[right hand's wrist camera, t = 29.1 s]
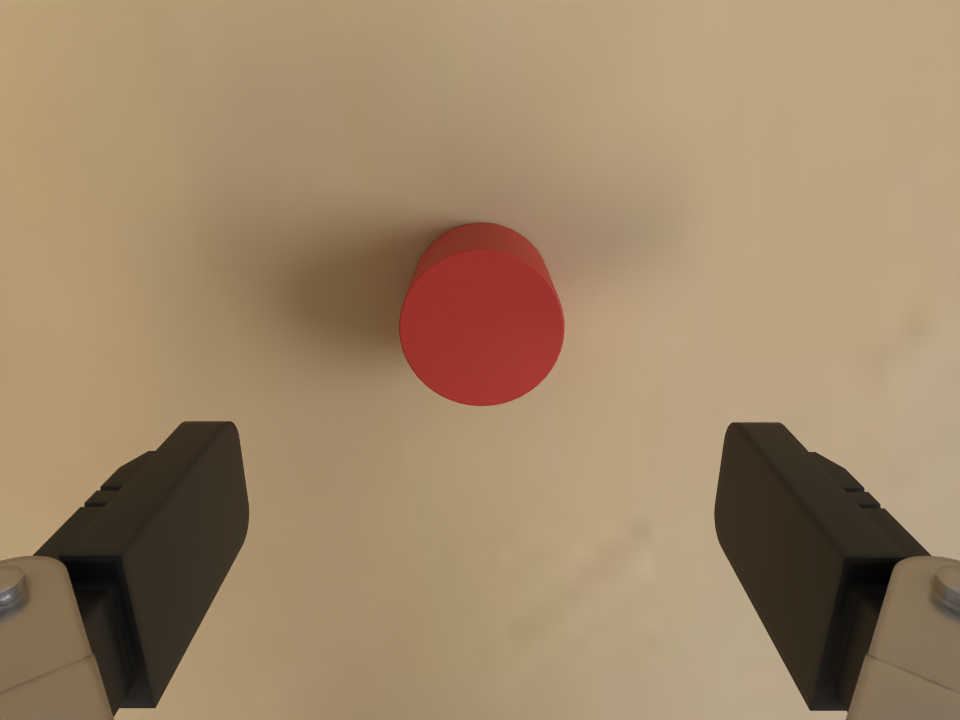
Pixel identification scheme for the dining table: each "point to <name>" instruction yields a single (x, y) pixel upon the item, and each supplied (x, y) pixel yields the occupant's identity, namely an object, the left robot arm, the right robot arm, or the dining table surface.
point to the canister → (481, 316)
